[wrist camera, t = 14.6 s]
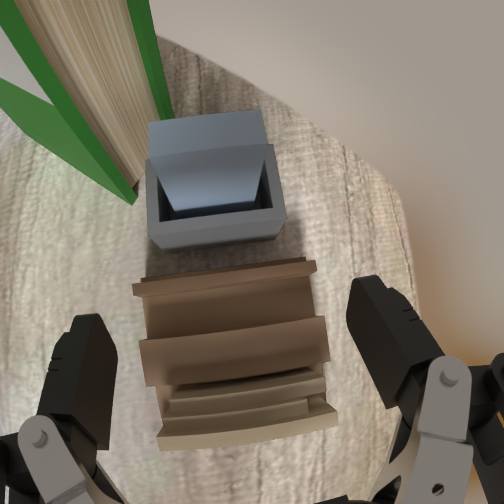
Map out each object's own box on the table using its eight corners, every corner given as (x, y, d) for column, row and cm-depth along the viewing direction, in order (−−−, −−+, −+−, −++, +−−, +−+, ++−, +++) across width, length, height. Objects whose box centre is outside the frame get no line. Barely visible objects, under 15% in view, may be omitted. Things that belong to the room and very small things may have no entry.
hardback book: (180, 141, 28) (129, -117, 5) (131, 205, 27) (-32, -29, 3) (66, 85, 29) (-15, -71, 5) (25, 133, 27) (-91, -7, 4)
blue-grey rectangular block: (250, 219, 26) (267, 143, 14) (182, 227, 26) (148, 157, 14) (247, 196, 26) (261, 109, 15) (180, 204, 26) (148, 122, 14)
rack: (323, 412, 24) (338, 426, 20) (169, 434, 23) (160, 452, 19) (301, 259, 27) (313, 250, 23) (145, 280, 25) (131, 273, 22)
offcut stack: (314, 402, 23) (338, 425, 17) (174, 422, 22) (159, 451, 16) (309, 366, 24) (333, 381, 18) (167, 386, 22) (149, 407, 17)
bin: (274, 239, 27) (287, 218, 21) (165, 253, 26) (148, 235, 20) (264, 178, 28) (273, 144, 22) (160, 190, 27) (145, 159, 21)
